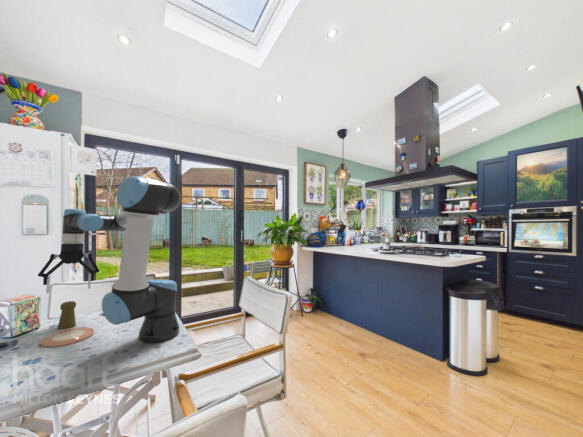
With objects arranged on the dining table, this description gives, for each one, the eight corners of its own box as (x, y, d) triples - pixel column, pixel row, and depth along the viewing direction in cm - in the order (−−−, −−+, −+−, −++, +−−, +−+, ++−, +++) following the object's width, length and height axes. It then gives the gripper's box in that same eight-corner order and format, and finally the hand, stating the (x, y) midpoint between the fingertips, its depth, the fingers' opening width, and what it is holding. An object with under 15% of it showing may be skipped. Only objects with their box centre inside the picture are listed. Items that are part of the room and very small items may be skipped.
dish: (94, 339, 96) (95, 336, 96) (37, 351, 85) (37, 349, 86) (93, 326, 108) (93, 324, 108) (42, 335, 97) (42, 333, 98)
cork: (74, 323, 111) (76, 299, 111) (77, 326, 107) (78, 301, 108) (56, 326, 106) (58, 301, 107) (58, 330, 102) (60, 304, 103)
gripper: (106, 242, 119) (103, 284, 118) (34, 242, 103) (29, 292, 102) (107, 243, 114) (104, 288, 113) (31, 243, 97) (26, 296, 96)
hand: (69, 290), depth 107 cm, fingers open, 13 cm apart
